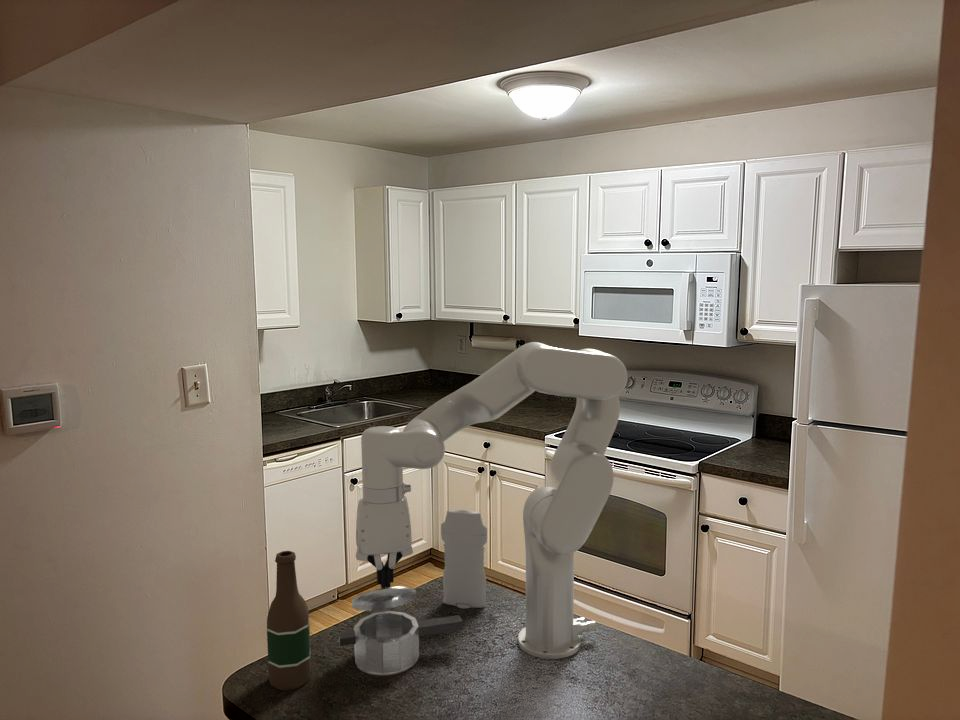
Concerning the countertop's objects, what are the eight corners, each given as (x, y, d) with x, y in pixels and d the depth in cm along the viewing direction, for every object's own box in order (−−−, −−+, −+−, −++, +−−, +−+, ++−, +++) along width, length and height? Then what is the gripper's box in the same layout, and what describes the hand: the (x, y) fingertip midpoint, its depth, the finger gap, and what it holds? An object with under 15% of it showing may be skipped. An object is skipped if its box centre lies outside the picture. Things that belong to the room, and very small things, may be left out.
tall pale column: (489, 602, 156) (489, 508, 154) (485, 611, 152) (485, 514, 150) (444, 598, 159) (443, 505, 156) (439, 606, 155) (437, 511, 152)
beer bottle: (300, 693, 122) (295, 563, 119) (260, 689, 124) (254, 560, 121) (319, 669, 130) (314, 546, 127) (281, 665, 131) (275, 543, 129)
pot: (453, 629, 144) (452, 600, 143) (469, 662, 132) (468, 630, 131) (337, 647, 138) (336, 616, 137) (342, 683, 125) (341, 649, 125)
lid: (412, 605, 140) (410, 592, 142) (420, 586, 131) (418, 572, 132) (350, 614, 137) (349, 600, 138) (353, 595, 127) (352, 581, 129)
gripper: (418, 484, 135) (420, 574, 137) (341, 490, 131) (343, 583, 133) (426, 495, 128) (427, 590, 130) (343, 502, 124) (347, 600, 126)
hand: (385, 586), depth 132 cm, fingers closed
